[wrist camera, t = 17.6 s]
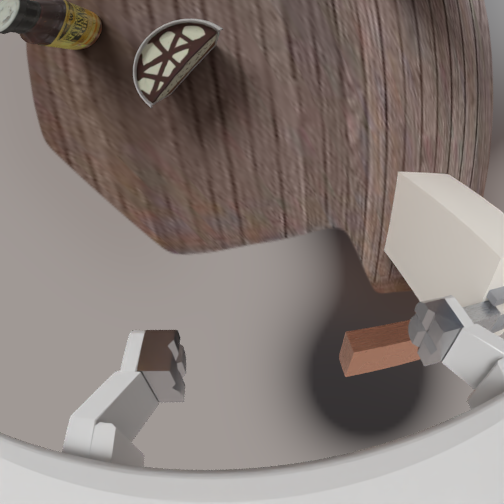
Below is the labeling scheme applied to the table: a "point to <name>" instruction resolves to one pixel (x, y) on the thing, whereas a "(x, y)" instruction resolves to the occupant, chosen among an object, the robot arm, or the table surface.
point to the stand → (447, 241)
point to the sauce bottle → (50, 23)
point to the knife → (396, 342)
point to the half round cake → (171, 56)
